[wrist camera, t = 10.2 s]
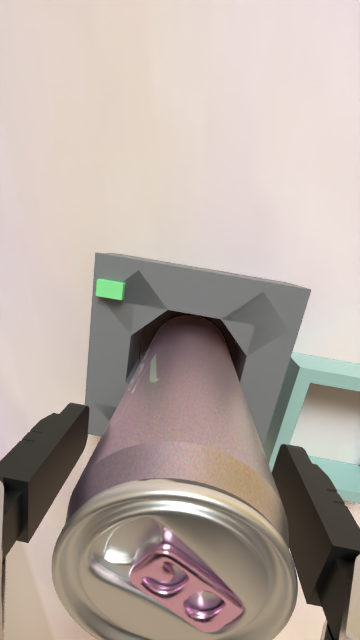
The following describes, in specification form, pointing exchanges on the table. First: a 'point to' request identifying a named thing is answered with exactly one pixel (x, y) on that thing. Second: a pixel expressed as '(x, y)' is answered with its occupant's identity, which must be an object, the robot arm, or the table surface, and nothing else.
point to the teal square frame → (300, 372)
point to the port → (194, 298)
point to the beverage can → (178, 508)
